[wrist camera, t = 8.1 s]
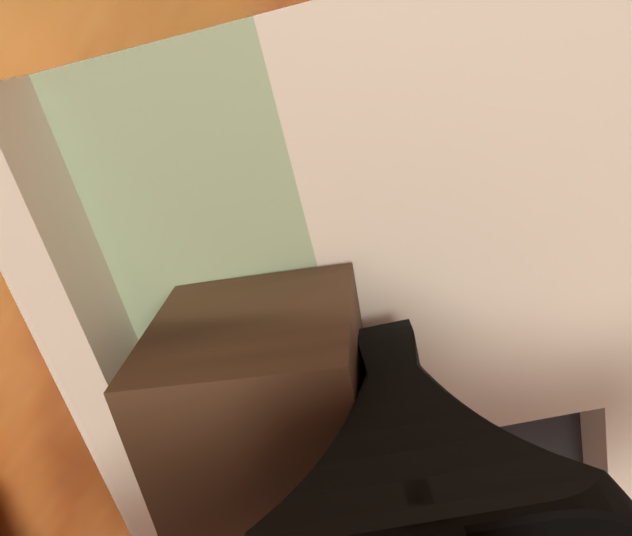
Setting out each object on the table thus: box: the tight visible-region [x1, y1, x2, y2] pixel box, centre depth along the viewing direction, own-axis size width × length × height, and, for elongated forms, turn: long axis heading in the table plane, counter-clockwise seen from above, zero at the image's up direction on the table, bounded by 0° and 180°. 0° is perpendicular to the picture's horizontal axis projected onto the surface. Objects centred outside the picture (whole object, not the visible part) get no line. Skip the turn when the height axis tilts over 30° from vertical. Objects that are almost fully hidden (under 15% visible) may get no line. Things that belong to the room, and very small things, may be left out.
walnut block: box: [103, 263, 366, 536], centre depth 12 cm, size 4×4×4 cm
